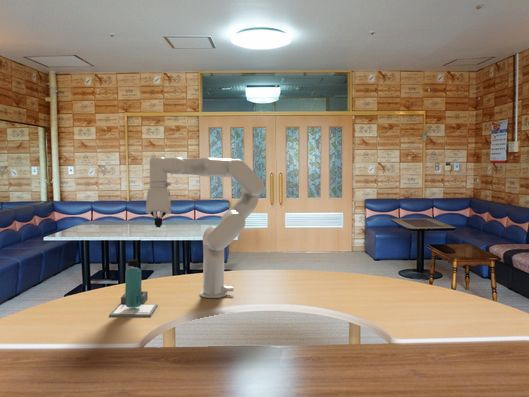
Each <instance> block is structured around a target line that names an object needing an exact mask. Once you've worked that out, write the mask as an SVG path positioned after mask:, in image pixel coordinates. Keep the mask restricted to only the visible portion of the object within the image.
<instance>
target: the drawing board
mask: <svg viewBox="0 0 529 397" xmlns="http://www.w3.org/2000/svg"><path fill="white" fill-rule="evenodd" d="M158 307H159V305H158V304H146V303H144V304H141V306H139V307H135V308H129V307H126V305H125V304H121V303H120V304H118V305H117V306H116V307H115V308H114V309H113V310H112V311H111V313H109V315H108V316H109V317H108V318H114V317H115V318H151V317H152V316H153V314H154V313H155V311H156V310H157V308H158Z"/></svg>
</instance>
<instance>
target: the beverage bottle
mask: <svg viewBox="0 0 529 397" xmlns="http://www.w3.org/2000/svg"><path fill="white" fill-rule="evenodd" d="M127 266H128V267H129V268H127V269H126V270H125V274H124V275H125V287H124V294H125V296H126V299H125V300H126V301H125V302H126V303H125V305H126V307H129V308H135V307H139V306H141V304H142V297H141V295H142V293H141V292H142V290H143V289H142V270H141V269H140V268H139V267H138V266H139V260H138V259H129V260H128V261H127Z"/></svg>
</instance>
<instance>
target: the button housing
mask: <svg viewBox="0 0 529 397" xmlns="http://www.w3.org/2000/svg"><path fill="white" fill-rule="evenodd" d="M141 291H142V290H141ZM141 293H142V295H141V297H142V304H146V302H147V301H148V291H145V290H144V291H142V292H141ZM125 299H126V296H125V293H124V294H122V296H121V297H120V304H125V303H126V302H125V301H126V300H125Z"/></svg>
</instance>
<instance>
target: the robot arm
mask: <svg viewBox="0 0 529 397" xmlns="http://www.w3.org/2000/svg"><path fill="white" fill-rule="evenodd" d="M168 174H172V175H189V176H190V175H192V176H194V175H195V176H201V177H207V178H209V177H212V178H230V179H231V178H232V179H234V180H235V181H236V182H237V183H238V184H239V185H240V189H241V195H240V197H239V199H238V200H237V201H236V202H235V203H234V204H233V205H232V206H231V207H230V208H229V209H228V210H227V211H225V213H223V215H222V216H221V218H220V223H219V224H218V225H217V226H214V225H213V226H209V227H207V228H206V229H205V230H204V231H203V234H202V249H203V264H202V267H203V268H202V269H203V272H202V273H203V275H202V282H203V284H202V290H200V292H199V296H200V297H202V298H207V299H219V298H220V299H221V298H224V297H226V296H227V295H228V292H234V289H235V288H234V287H233V286H230V285H229V286H226V283H225V248H227V246H229V245H230V244H231V243H232V242H233V241H234V240H235V239H236V238H237V237H238V236H239V235H240V234H241V233H242V231H243V230H244V229H245V227H246V220H247V218H249V216H250V215H251V214H252V213H253V212H254V210H255V209H256V208H257V206H258V202H259V198H260V197H259V196H260V195H261V194H262V193H263V191H264V188H265V185H264V184H265V183H264V181H263V180H262V179H261V178H260V176H258V174H257V173H256V172H254V170H252V168H251V167H249V165H248V164H247V163H246V162H245V161H244V160H242V159H240V158H218V157H201V158H189V157H178V156H174V157H159V156H154V157H153V156H152V157H151V158H150V159H149V188H148V189H147V194H146V201H145V202H146V205H145V207H146V210H145V213H146V214H149V215H151V216H152V217H153V219H154V226H155V228H161V227H162V226H163V217H165V216H166V215H170V214H172V211H171V209H172V202H171V201H172V200H171V192H170V188H168V187H171V186H172V185H171V184H172V183H171V182H168ZM158 212H159V215H158Z"/></svg>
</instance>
